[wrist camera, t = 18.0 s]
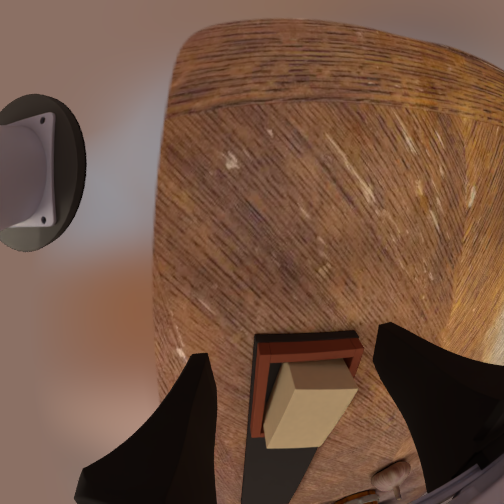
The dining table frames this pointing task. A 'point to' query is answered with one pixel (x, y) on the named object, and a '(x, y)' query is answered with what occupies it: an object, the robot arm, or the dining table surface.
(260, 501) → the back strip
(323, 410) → the foam pad
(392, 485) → the garlic bulb
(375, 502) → the mug
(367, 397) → the dining table surface
